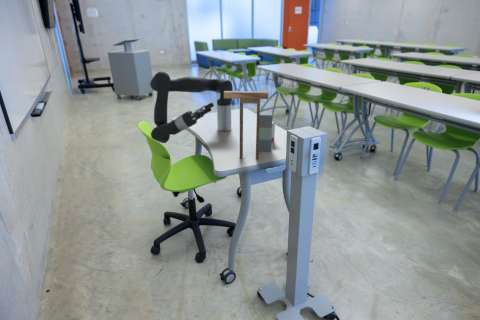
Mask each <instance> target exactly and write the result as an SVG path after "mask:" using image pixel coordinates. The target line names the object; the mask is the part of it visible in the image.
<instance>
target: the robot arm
mask: <svg viewBox="0 0 480 320" xmlns="http://www.w3.org/2000/svg"><path fill="white" fill-rule="evenodd" d="M149 85H150V88H151V89H152V90H153V91H154V92H156V97H155V98H156V99H155V103H154V104H155V105H154V110H153V123H154V125H155V127H154V128H153V129H152V130H151V132H150V137H151V138H152V139H153V140H155V141H157V142H159V143H161V144H166V143H168V142H169V140H170V138H171V136H172V135H177V134H178V133H181V132H182V131H186V130H187V129H189V128H191V127H192V126H195V125H196V124H198V120H199V119H201V118H204V116H205V115H206V114H208V113H210V112H212V108H213V107H215V104H214V102H210V103H207V104H205V105H203V106H201V107H200V108H198V109H195V110H194V112H193V111H191V110H188V111H186V112H184V113H183V114H180V115H179V116H177V117H176V118H175V119H174V120H171V121H169V122H168V102H169V93H170V92H181V93H196V94H197V93H203V92H208V91H209V92H215V93H218V94H219V98H218V99H217V100H216V115H217V117H216V118H217V121H216V122H217V130H218V131H219V132H229V131H232V101H233V98H224V91H234V90H233V83H232V82H231V80H229V79H225V78H205V77H199V76H183V77H179V78H176V79H175V78H174V79H171V77H170V75H169V74H168V73H167V72H166V71H164V70H163V71H162V70H161V71H157V72H156V73H155V74H154V75H153V77H152V78H151V80H150V83H149Z"/></svg>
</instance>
